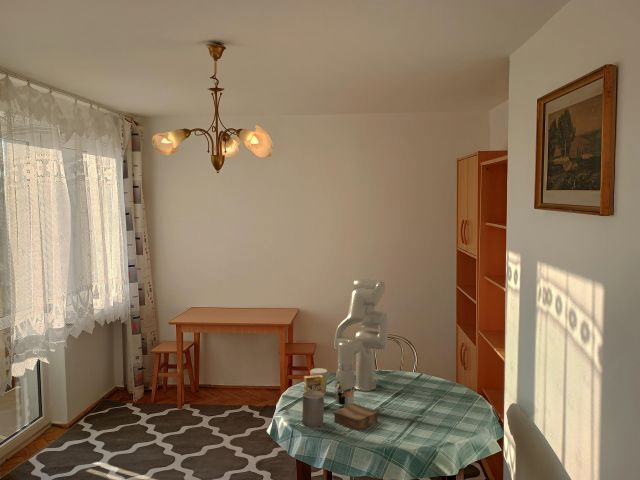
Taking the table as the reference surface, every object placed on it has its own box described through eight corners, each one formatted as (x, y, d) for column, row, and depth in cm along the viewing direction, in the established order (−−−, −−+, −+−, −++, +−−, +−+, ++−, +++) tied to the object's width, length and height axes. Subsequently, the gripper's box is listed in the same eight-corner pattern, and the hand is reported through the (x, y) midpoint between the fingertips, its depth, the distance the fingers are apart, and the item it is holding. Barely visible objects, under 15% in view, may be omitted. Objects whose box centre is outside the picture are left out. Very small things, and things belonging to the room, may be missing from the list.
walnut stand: (353, 413, 278) (353, 403, 278) (378, 422, 268) (378, 411, 268) (332, 422, 267) (333, 411, 267) (358, 431, 257) (358, 420, 257)
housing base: (342, 401, 291) (343, 391, 291) (353, 404, 287) (353, 394, 286) (336, 403, 288) (336, 393, 287) (347, 407, 283) (347, 397, 283)
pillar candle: (299, 421, 268) (299, 389, 267) (318, 418, 272) (319, 386, 271) (307, 429, 259) (307, 396, 258) (327, 425, 263) (327, 393, 262)
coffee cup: (330, 392, 310) (331, 369, 309) (321, 396, 302) (321, 374, 301) (316, 388, 314) (316, 367, 314) (306, 393, 307) (306, 371, 306)
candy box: (305, 408, 284) (306, 378, 283) (303, 405, 288) (303, 375, 287) (322, 407, 287) (323, 376, 286) (320, 404, 291) (320, 374, 290)
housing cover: (342, 391, 291) (342, 386, 290) (353, 395, 286) (353, 390, 286) (337, 393, 287) (337, 388, 287) (348, 397, 283) (348, 392, 283)
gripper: (350, 361, 294) (350, 396, 296) (328, 368, 282) (328, 405, 283) (362, 364, 289) (361, 399, 291) (340, 372, 277) (339, 409, 278)
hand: (345, 402), depth 287 cm, fingers closed on housing base, 5 cm apart
